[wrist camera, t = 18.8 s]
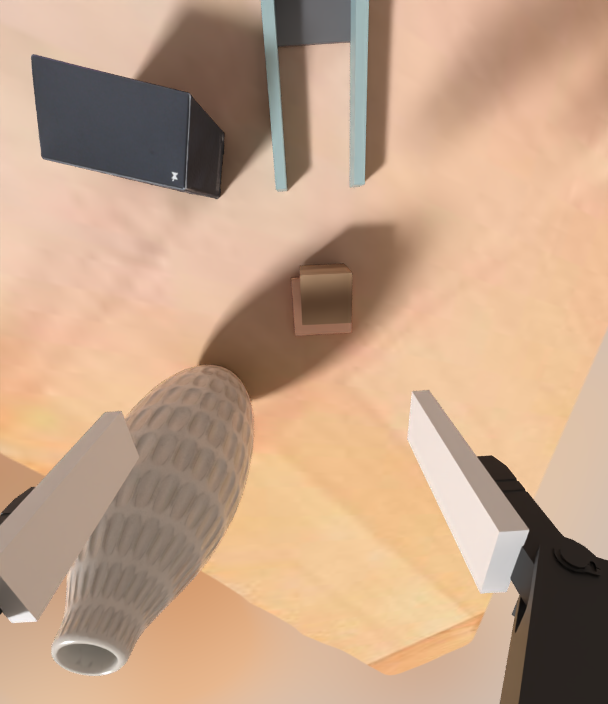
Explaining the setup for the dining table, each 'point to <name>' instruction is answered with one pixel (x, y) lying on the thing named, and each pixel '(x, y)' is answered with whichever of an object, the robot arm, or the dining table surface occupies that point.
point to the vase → (159, 516)
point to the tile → (312, 329)
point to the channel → (309, 29)
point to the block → (326, 294)
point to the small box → (126, 128)
